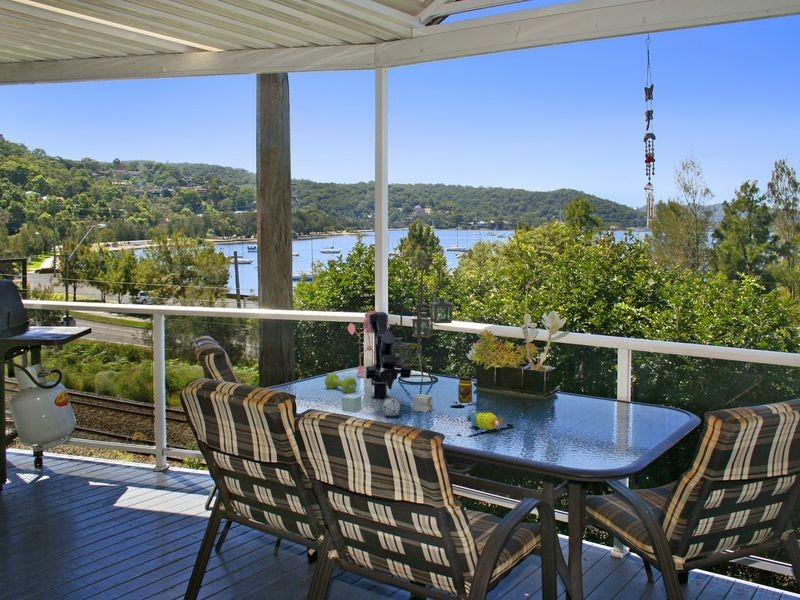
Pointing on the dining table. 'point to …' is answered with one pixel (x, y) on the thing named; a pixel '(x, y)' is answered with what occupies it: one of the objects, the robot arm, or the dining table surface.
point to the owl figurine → (484, 419)
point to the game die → (391, 407)
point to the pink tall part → (366, 325)
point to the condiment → (465, 389)
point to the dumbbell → (340, 383)
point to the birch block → (423, 403)
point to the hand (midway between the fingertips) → (390, 388)
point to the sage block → (351, 403)
